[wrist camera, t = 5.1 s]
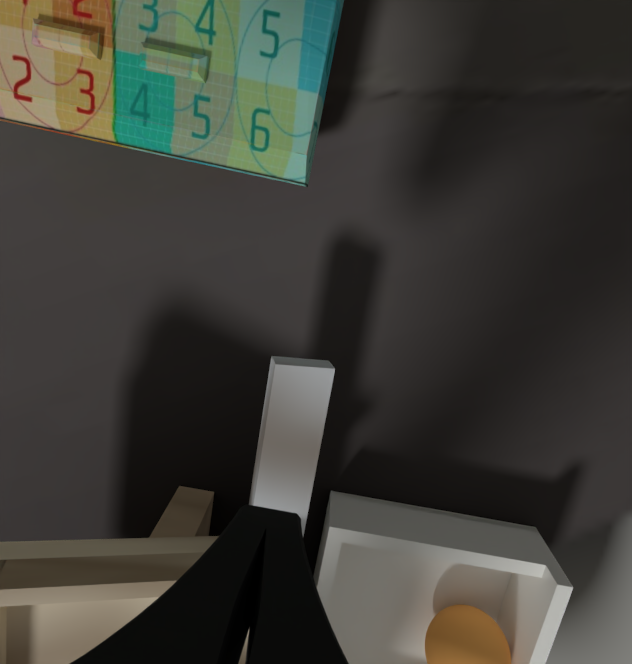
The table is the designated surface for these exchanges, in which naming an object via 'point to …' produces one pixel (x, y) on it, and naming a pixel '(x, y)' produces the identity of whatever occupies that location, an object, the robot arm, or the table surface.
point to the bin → (432, 578)
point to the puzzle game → (175, 76)
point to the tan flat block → (186, 514)
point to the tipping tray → (153, 553)
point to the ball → (465, 638)
